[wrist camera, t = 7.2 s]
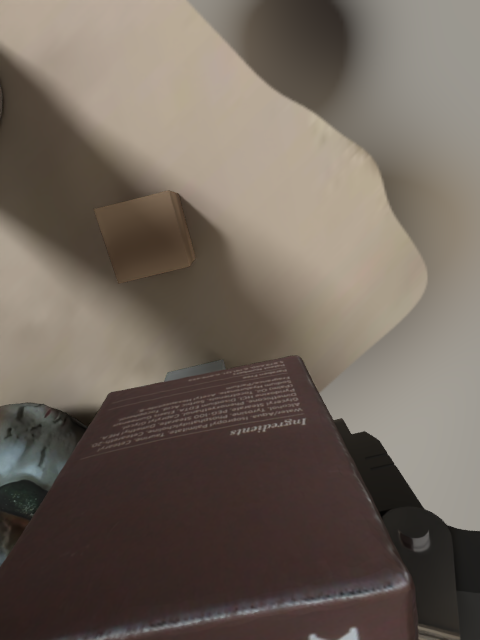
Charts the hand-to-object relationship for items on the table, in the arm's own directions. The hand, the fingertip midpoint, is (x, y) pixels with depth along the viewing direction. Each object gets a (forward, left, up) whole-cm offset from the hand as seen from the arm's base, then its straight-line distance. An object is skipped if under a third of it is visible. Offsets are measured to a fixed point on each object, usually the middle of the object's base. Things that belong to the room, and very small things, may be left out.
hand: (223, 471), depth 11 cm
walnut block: (-7, -4, -21) cm, 22 cm away
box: (0, 0, -1) cm, 1 cm away
